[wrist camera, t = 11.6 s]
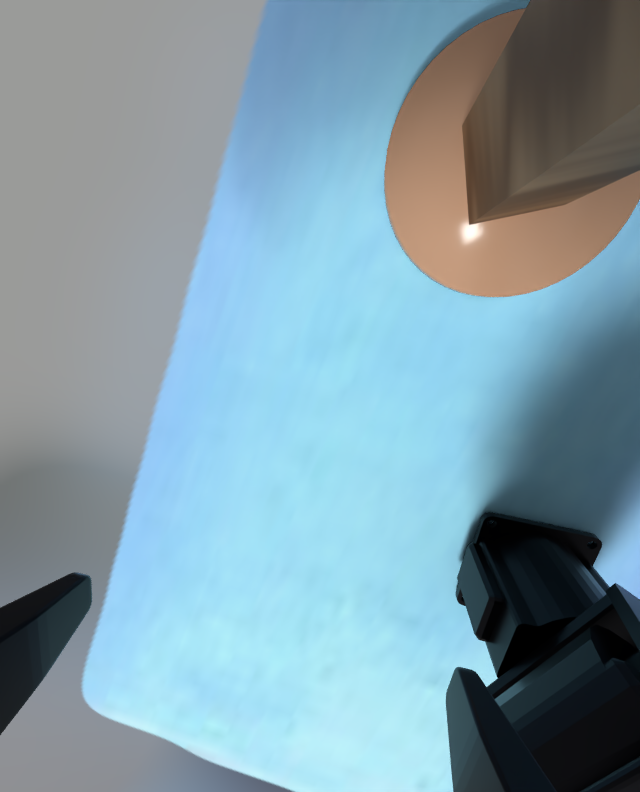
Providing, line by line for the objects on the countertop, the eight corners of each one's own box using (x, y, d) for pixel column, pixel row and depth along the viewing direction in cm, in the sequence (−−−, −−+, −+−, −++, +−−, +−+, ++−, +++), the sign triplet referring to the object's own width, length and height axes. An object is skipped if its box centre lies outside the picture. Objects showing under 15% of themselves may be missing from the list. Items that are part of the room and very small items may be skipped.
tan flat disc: (689, 35, 14) (707, 21, 14) (586, 314, 17) (596, 315, 17) (413, 8, 15) (416, -7, 14) (364, 277, 18) (363, 277, 18)
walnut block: (564, 204, 16) (958, 22, 5) (468, 225, 16) (647, 99, 6) (563, 99, 15) (1044, -387, 4) (462, 125, 15) (659, -237, 5)
